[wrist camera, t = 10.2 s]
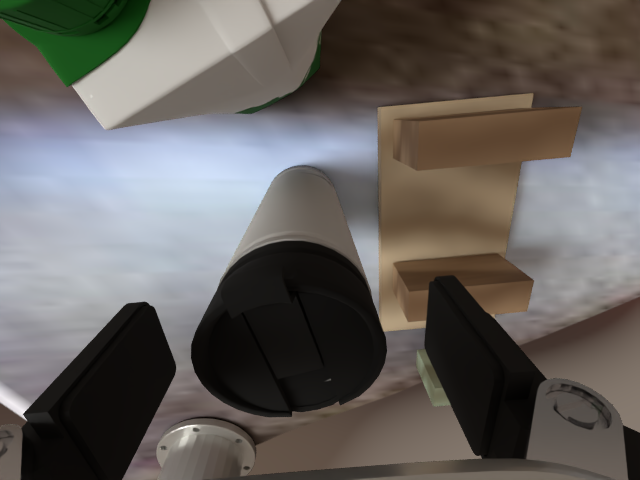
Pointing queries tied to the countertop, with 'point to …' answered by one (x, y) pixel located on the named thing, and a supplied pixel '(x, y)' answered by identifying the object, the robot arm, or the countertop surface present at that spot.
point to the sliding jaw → (480, 281)
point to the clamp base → (456, 179)
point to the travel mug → (291, 308)
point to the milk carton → (174, 52)
